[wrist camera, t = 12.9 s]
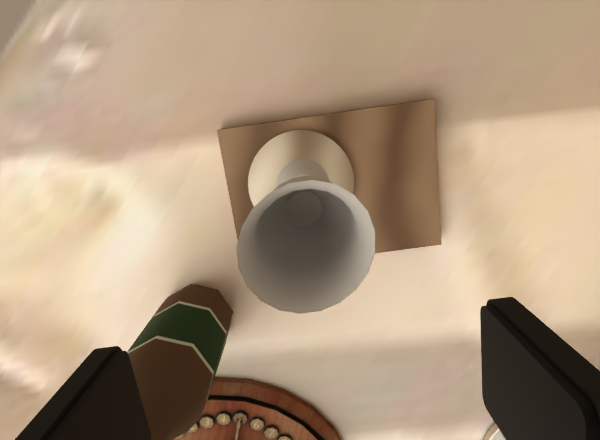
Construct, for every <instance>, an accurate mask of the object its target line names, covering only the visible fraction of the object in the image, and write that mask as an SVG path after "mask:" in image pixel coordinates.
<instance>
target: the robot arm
mask: <svg viewBox="0 0 600 440" xmlns="http://www.w3.org/2000/svg"><path fill="white" fill-rule="evenodd" d="M480 315H481V354H482V394H483V400H484V404H485V406H486V409H487V410H488V412H489V414H490V415H491V417H492V419H493V420H494V422H495V424H494V425H493V426H492V427H491V428H490V430H489V431H488V432H487V434H486V435H485V437H484V439H483V440H600V371H599V370H598V369H597V368H595V367H594V366H593V365H592V364H591V363H590V362H588V361H587V360H586V359H585V358H584V357H583V356H581V355H580V354H579V353H578V352H577V351H575V350H574V349H573V348H572V347H571V346H570V345H568V344H567V343H566V342H565V341H564V340H563V339H561V338H560V337H559V336H558V335H557V334H556V333H554V332H553V331H552V330H551V329H550V328H549V327H547V326H546V325H545V324H544V323H543V322H542V321H540V320H539V319H538V318H537V317H536V316H535V315H533V314H532V313H531V312H530V311H529V310H528V309H526V308H525V307H524V306H523V305H522V304H521V303H519V302H518V301H517V300H516V299H515V298H513V297H507V298H499V299H491V300H488V301H487V305H486V306H482V307H481V312H480ZM15 440H151V432H150V428H149V425H148V421H147V418H146V414H145V411H144V407H143V404H142V400H141V397H140V393H139V389H138V386H137V382H136V379H135V375H134V372H133V368H132V365H131V361H130V358H129V355H128V353H127V352H126V351H122V349H121V348H120V347H118V346H115V347H107V348H99V349H95V350H93V351H92V352H91V354H90V355H89V356H88V357H87V358H86V359H85V360H84V362H83V363H82V364H81V365H80V366H79V367H78V368H77V369H76V371H75V372H74V373H73V374H72V375H71V376H70V377H69V379H68V380H67V381H66V382H65V383H64V384H63V385H62V387H61V388H60V389H59V390H58V391H57V392H56V393H55V395H54V396H53V397H52V398H51V399H50V400H49V401H48V403H47V404H46V405H45V406H44V407H43V408H42V409H41V411H40V412H39V413H38V414H37V415H36V416H35V417H34V418H33V420H32V421H31V422H30V423H29V424H28V425H27V426H26V428H25V429H24V430H23V431H22V432H21V433H20V434H19V436H18V437H17V438H16V439H15Z"/></svg>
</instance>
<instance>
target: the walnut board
mask: <svg viewBox="0 0 600 440" xmlns="http://www.w3.org/2000/svg"><path fill="white" fill-rule="evenodd" d="M217 132H218V138H219V143H220V148H221V154H222V159H223V164H224V170H225V175H226V180H227V185H228V191H229V196H230V201H231V207H232V212H233V217H234V223H235V228H236V233H237V238H238V240H239V236H240V232H241V227H242V225H243V224H244V222H245V220H246V219H247V217H248V215H249V214H250V212H251V210H252V208H253V207H254V206H256V205H257V204H258V203H259V202H260V201H261V200H262V199H263V198H264V197H265V196H267V195H268V194H269V193H270V192H272V191H273V190H274V189H275V188H276V182H277V177H278V175H279V173H280V172H281V170H282V169H283V168H284V167H285V166H286V165H287V164H288V163H291V162H293V161H295V160H301V159H306V160H311V161H314V162H316V163H317V164H319V165H321V167H322V168H323V169H324V170H325V171H326V173H327V176H328V178H329V181H330V182H332V183H334V184H336V185H338V186H339V187H341V188H343V189H345V190H347V191H348V192H350V193H352V194H354V195H355V196H356V198H357V199H358V200H359V201H360V202H361V204H362V205H363V206H364V207H365V208H366V210H367V211H368V213H369V216H370V219H371V221H372V224H373V227H374V230H375V253H380V252H387V251H395V250H402V249H410V248H418V247H425V246H433V245H441V228H440V208H439V188H438V167H437V147H436V127H435V107H434V99H430V100H423V101H416V102H409V103H402V104H395V105H388V106H381V107H374V108H367V109H360V110H353V111H346V112H339V113H332V114H325V115H318V116H311V117H304V118H297V119H290V120H283V121H276V122H269V123H262V124H255V125H249V126H242V127H235V128H228V129H221V130H217Z"/></svg>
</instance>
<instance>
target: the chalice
mask: <svg viewBox="0 0 600 440" xmlns="http://www.w3.org/2000/svg"><path fill="white" fill-rule="evenodd" d="M374 254H375V230H374V227H373V224H372V221H371V219H370V216H369V213H368V211H367V210H366V208H365V207H364V206H363V205H362V204H361V202H360V201H359V200H358V199H357V198H356V196H355V195H354V194H352V193H350V192H348V191H347V190H345V189H343V188H341V187H339V186H338V185H336V184H334V183H332V182H330V181H329V178H328V176H327V173H326V171H325V170H324V169H323V168H322V167H321V165H319V164H317V163H316V162H314V161H311V160H306V159H301V160H295V161H293V162H291V163H288V164H287V165H286V166H285V167H284V168H283V169H282V170H281V172H280V173H279V175H278V177H277V182H276V188H275V189H274V190H273V191H272V192H270V193H269V194H268V195H267V196H265V197H264V198H263V199H262V200H261V201H260V202H259V203H258V204H257V205H256V206H254V207H253V208H252V210H251V212H250V214H249V215H248V217H247V219H246V220H245V222H244V224H243V225H242V227H241V232H240V236H239V240H238V244H237V255H238V266H239V269H240V272H241V274H242V276H243V278H244V280H245V283H246V285H247V287H248V288H249V289H250V290H251V291H252V292H253V293H254V294H255V295H256V296H257V297H258V298H259V299H260V300H261V301H263V302H265V303H267V304H268V305H270V306H272V307H274V308H276V309H278V310H282V311H288V312H294V313H307V312H315V311H321V310H324V309H326V308H328V307H331V306H333V305H335V304H337V303H340V302H341V301H342V300H344V299H345V298H346V297H347V296H348V295H350V294H351V293H352V292H353V291H355V290H356V289H357V287H358V286H359V285H360V283H361V282H362V280H363V279H364V278H365V276H366V275H367V273H368V272H369V269H370V266H371V263H372V260H373V257H374Z"/></svg>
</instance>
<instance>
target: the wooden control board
mask: <svg viewBox="0 0 600 440" xmlns="http://www.w3.org/2000/svg"><path fill="white" fill-rule="evenodd" d="M173 440H341V439H340V437H339V435H338V434H337V432H336V430H335V428H334V427H333V426H332V425H331V424H330V423H329V422H328V421H327V420H326V419H325V418H324V417H323V416H322V415H321V414H320V413H319V412H318V411H317V410H316V409H315V408H314V407H313V406H312V405H310V404H308V403H306V402H305V401H303V400H301V399H299V398H297V397H296V396H294V395H292V394H290V393H289V392H287V391H285V390H283V389H281V388H277V387H274V386H270V385H267V384H263V383H260V382H256V381H253V380H249V379H236V378H217V377H214V381H213V384H212V387H211V390H210V393H209V396H208V399H207V402H206V405H205V407H204V410H203V412H202V414H201V417H200V419H199V420H198V421H197V422H196V423H195V424H194V426H193V427H192V428H191V429H190V430H189V431H188V432H186V433H184V434H182V435H180V436H178V437H176V438H175V439H173Z"/></svg>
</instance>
